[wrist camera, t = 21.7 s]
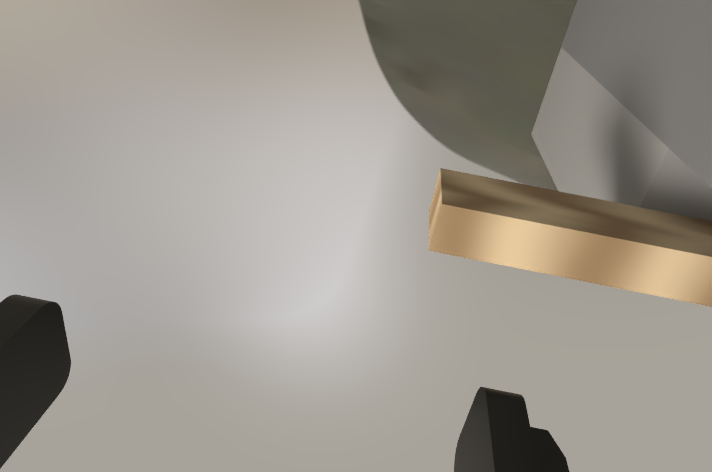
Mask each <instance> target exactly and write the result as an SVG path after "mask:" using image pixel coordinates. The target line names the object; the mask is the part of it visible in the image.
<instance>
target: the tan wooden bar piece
mask: <svg viewBox="0 0 712 472" xmlns="http://www.w3.org/2000/svg"><path fill="white" fill-rule="evenodd" d="M429 250H430V251H435V252H440V253H444V254H450V255H455V256H460V257H465V258H470V259H475V260H480V261H485V262H490V263H495V264H500V265H505V266H510V267H515V268H520V269H525V270H530V271H535V272H540V273H545V274H550V275H556V276H561V277H565V278H570V279H576V280H580V281H585V282H590V283H595V284H600V285H605V286H610V287H615V288H621V289H626V290H631V291H636V292H641V293H646V294H651V295H656V296H661V297H666V298H671V299H676V300H681V301H686V302H691V303H696V304H701V305H706V306H711V307H712V221H708V220H703V219H698V218H693V217H688V216H683V215H678V214H672V213H667V212H662V211H657V210H652V209H647V208H642V207H637V206H631V205H626V204H621V203H616V202H611V201H606V200H601V199H596V198H590V197H585V196H580V195H575V194H570V193H565V192H560V191H555V190H549V189H544V188H539V187H534V186H529V185H524V184H519V183H513V182H508V181H503V180H498V179H493V178H488V177H482V176H477V175H472V174H467V173H461V172H457V171H451V170H447V169H442V168H441V169H440V172H439V176H438V180H437V184H436V188H435V192H434V196H433V199H432V203H431V207H430V211H429Z"/></svg>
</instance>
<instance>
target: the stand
mask: <svg viewBox="0 0 712 472" xmlns="http://www.w3.org/2000/svg"><path fill="white" fill-rule="evenodd" d="M531 135H532V137H533V139H534V141H535V143H536V145H537V148H538V150H539V152H540V154H541V156H542V158H543V160H544V162H545V164H546V166H547V168H548V171H549V173H550V175H551V177H552V179H553V181H554V183H555V185H556V187H557V189H558V191H560V192H565V193H570V194H575V195H580V196H585V197H590V198H596V199H601V200H606V201H611V202H616V203H621V204H626V205H631V206H637V207H642V208H647V209H652V210H657V211H662V212H667V213H672V214H678V215H683V216H688V217H693V218H698V219H703V220H708V221H712V0H577V2H576V5H575V8H574V11H573V14H572V17H571V20H570V23H569V26H568V29H567V31H566V34H565V37H564V40H563V43H562V46H561V49H560V52H559V55H558V58H557V61H556V64H555V66H554V69H553V72H552V75H551V78H550V81H549V84H548V87H547V90H546V93H545V96H544V98H543V101H542V104H541V107H540V110H539V113H538V116H537V119H536V122H535V125H534V128H533V131H532V133H531Z"/></svg>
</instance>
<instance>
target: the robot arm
mask: <svg viewBox="0 0 712 472" xmlns="http://www.w3.org/2000/svg"><path fill="white" fill-rule="evenodd" d="M70 367H71V359H70V353H69V348H68V342H67V337H66V331H65V327H64V321H63V315H62V311H61V308H60V306H59V305H58V304H57V303H56V302H50V301H46V300H41V299H36V298H30V297H26V296H21V295H11V296H9V297H7V298H6V299H4V300H3V301H2V302H1V303H0V468H1V467H2V466H3V464H4V463H5V462H6V461H7V459H8V458H9V457H10V456H11V454H12V453H13V452H14V451H15V449H16V448H17V447H18V446H19V444H20V443H21V442H22V440H23V439H24V438H25V437H26V435H27V434H28V433H29V432H30V430H31V429H32V428H33V427H34V425H35V424H36V423H37V422H38V420H39V419H40V418H41V416H42V415H43V414H44V413H45V411H46V410H47V409H48V407H49V406H50V405H51V404H52V402H53V401H54V400H55V399H56V398H57V396H58V395H59V393H60V392H61V391H62V389H63V388H64V385H65V383H66V381H67V379H68V376H69V372H70ZM454 472H569V469H568V465H567V461H566V458H565V456H564V455H563V453H562V452H561V450H560V448H559V447H558V445H557V444H556V442H555V441H554V439H553V438H552V436H551V435H550V433H549V432H548V431H547V430H543V429H538V428H533V427H530V424H529V419H528V414H527V409H526V404H525V401H524V398H523V397H522V395H519V394H514V393H509V392H504V391H499V390H494V389H489V388H484V387H480V388H479V390H478V391H477V393H476V396H475V399H474V401H473V404H472V406H471V409H470V411H469V414H468V416H467V419H466V421H465V424H464V427H463V429H462V432H461V434H460V437H459V440H458V443H457V448H456V454H455V464H454Z"/></svg>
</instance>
